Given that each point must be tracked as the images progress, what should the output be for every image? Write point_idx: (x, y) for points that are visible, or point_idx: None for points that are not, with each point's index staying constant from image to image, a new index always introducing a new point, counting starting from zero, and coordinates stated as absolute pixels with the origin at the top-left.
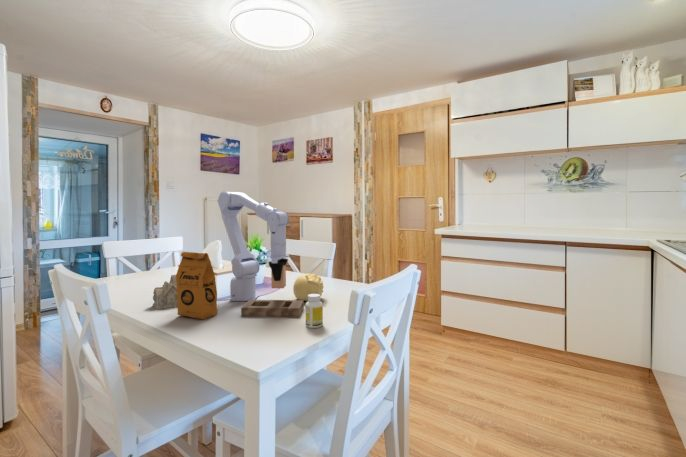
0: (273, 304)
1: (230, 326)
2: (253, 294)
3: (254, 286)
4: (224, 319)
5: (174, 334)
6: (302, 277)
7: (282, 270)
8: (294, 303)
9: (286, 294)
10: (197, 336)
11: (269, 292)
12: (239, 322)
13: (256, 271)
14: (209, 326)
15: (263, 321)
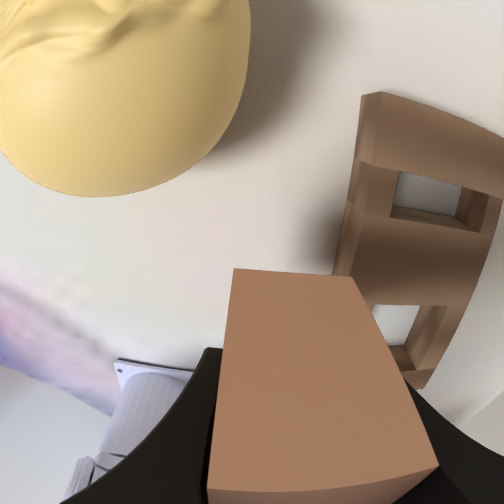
0: (433, 282)
1: (480, 357)
2: (170, 392)
3: (152, 419)
4: (420, 392)
5: (464, 422)
6: (109, 93)
7: (413, 429)
8: (442, 160)
9: (52, 235)
10: (496, 386)
11: (46, 318)
12: (464, 348)
13: (100, 474)
14: (455, 397)
15: (488, 281)
